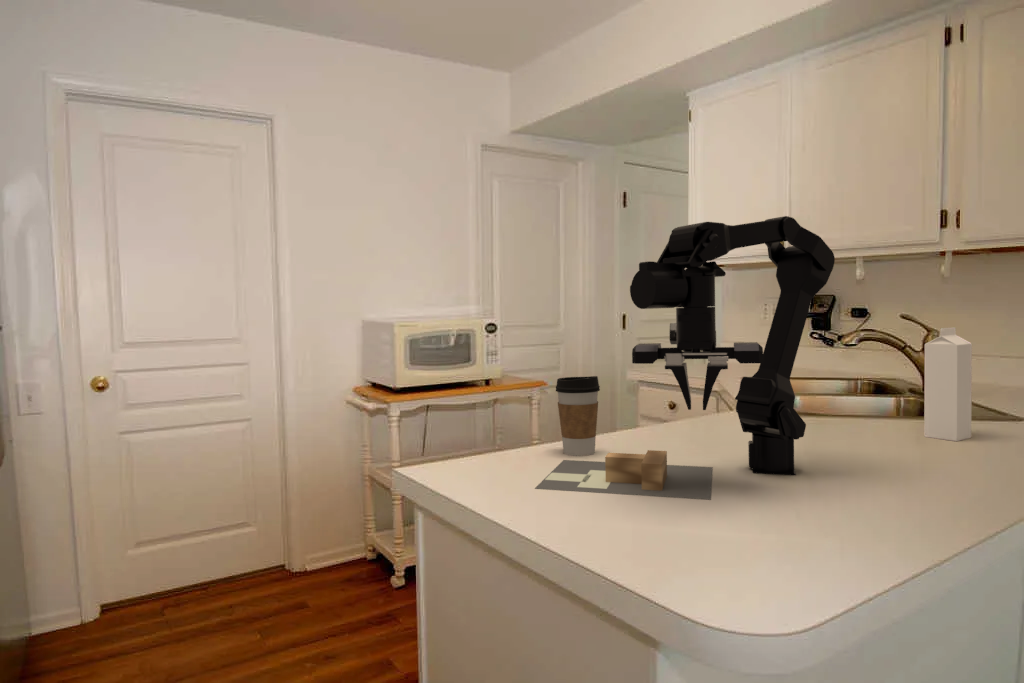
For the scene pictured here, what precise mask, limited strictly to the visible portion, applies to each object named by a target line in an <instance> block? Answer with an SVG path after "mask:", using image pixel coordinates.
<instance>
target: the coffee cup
mask: <svg viewBox="0 0 1024 683" xmlns="http://www.w3.org/2000/svg"><path fill="white" fill-rule="evenodd" d="M600 388H601V385H600V384H599V377H598V376H597V375H593V376H569V377H568V376H567V377H566V376H565V377H559V378H557V379H556V385H555V392H557V398H558V399H557V400H558V402H557V407H558V409H557V410H558V416H559V425H560V432H561V433H560V434H561V441H562V450H563V454H564V455H566V456H571V457H587V456H592V455H594V454H595V453H596V435H597V426H598V425H597V423H598V409H599V401H598V394H599V393H598V392H599V391H600V390H601V389H600Z"/></svg>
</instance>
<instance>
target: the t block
mask: <svg viewBox="0 0 1024 683" xmlns="http://www.w3.org/2000/svg"><path fill="white" fill-rule="evenodd" d="M604 457H605V458H604V462H605V471H606V482H616V483H633V484H642V490H658V491H662V490H663V487H664V483H665V480H666V477H667V465H668V452H667V450H652V449H647V451H646V453H626V452H625V453H624V452H621V453H620V452H608V453H607V454H605V456H604Z"/></svg>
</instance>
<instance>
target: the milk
mask: <svg viewBox="0 0 1024 683" xmlns="http://www.w3.org/2000/svg"><path fill="white" fill-rule="evenodd" d="M956 331H957V328H956V327H955V326H953V327H942V328H940V331H939V332H940V333H939V334H940V335H939V336H937V337H935V338H934V339H932V340H930V341H927V342H926V343H924V394H923V395H924V401H923V402H924V403H923V404H924V409H923V412H924V414H923V416H924V419H923V421H924V422H923V423H924V424H923V425H924V431H923V432H924V435H923V436H924V437H925V438H930V439H938V440H945V441H952V442H959V441H963V440H967V439H970V438H972V396H973V395H972V394H973V392H972V391H973V390H972V385H973V384H972V380H973V379H972V378H973V376H972V375H973V374H972V372H973V371H972V370H973V366H972V360H973V344H972V342H970V341H968V340H966V339H965V338H963V337H961V336H959V335H958V334H957V333H956Z"/></svg>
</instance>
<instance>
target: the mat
mask: <svg viewBox="0 0 1024 683" xmlns="http://www.w3.org/2000/svg"><path fill="white" fill-rule="evenodd" d="M713 470H714V467H713V466H698V465H676V464H667V477H666V480H665V483H664V487H663V490H662V491H658V490H642V484H633V483H616V482H606V471H605V461H594V460H593V461H592V460H571V459H563V460H561V462H560V463H559V464H557V466H556V467H555V468H553V470H552V471H550V473H549V474H548V475H547V476H545V478H544V479H542V480H541V481H540V483H538V485H537V486H536V487H535V488H534V489H535V490H545V491H546V490H547V491H548V490H549V491H561V492H562V491H563V492H565V491H566V492H576V493H577V492H578V493H579V492H580V493H593V494H595V493H596V494H613V495H628V496H640V497H641V496H644V497H657V498H673V499H690V500H708V501H711V500H712V486H713V485H712V484H713V472H714V471H713Z"/></svg>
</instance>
